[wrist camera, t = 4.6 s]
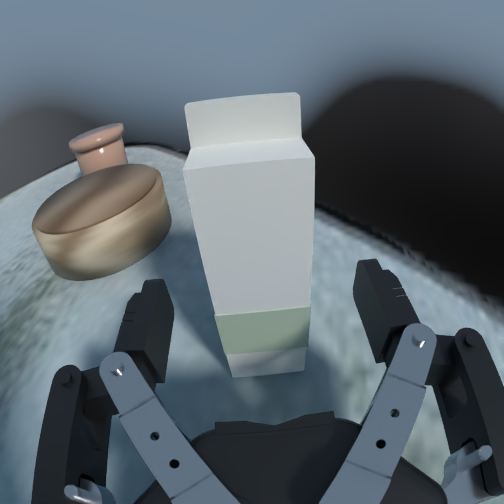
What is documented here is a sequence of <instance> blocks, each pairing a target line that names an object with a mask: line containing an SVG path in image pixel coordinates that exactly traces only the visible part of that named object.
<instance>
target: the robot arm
mask: <svg viewBox="0 0 504 504" xmlns="http://www.w3.org/2000/svg"><path fill="white" fill-rule="evenodd" d="M353 296H354V301H355V304H356V307H357V309H358V312H359V315H360V318H361V320H362V323H363V326H364V329H365V332H366V335H367V338H368V340H369V343H370V346H371V349H372V352H373V355H374V358H375V361H376V364H377V363H381V362H385V364H386V367H387V368H386V370H385V373H384V375H383V377H382V379H381V382H380V384H379V386H378V388H377V391H376V393H375V395H374V397H373V399H372V401H371V403H370V405H369V407H368V409H367V411H366V413H365V415H364V417H363V419H362V421H361V423H360V424H357V423H355V422H353V421H350V420H347V419H342V418H335V417H334V412H333V411H329V412H323V413H316V414H310V415H304V416H301V417H299V418H296V419H293V420H290V421H287V422H285V423H282V424H279V425H266V424H260V423H253V422H247V421H234V422H215V429H213V430H210V431H207V432H205V433H203V434H201V435H199V436H198V437H196V438H195V439H193V440H192V441H191V440H190V439H189V438H188V436H187V435H186V434H185V432H184V431H183V430H182V429H181V427H180V426H179V425H178V424H177V422H176V421H175V420H174V418H173V417H172V415H171V414H170V413H169V411H168V410H167V408H166V407H165V406H164V404H163V403H162V401H161V400H160V398H159V397H158V395H157V394H156V392H155V386H156V383H165V376H166V369H167V361H168V354H169V347H170V341H171V334H172V328H173V322H174V307H173V303H172V300H171V298H170V295H169V292H168V290H167V287H166V284H165V281H164V280H163V279H153V280H145V281H144V284H143V287H142V291H141V293H135V294H134V295H133V296H132V298H131V299H130V300H129V301H128V303H127V306H126V310H125V314H124V316H123V320H122V321H123V322H122V323H121V326H120V330H119V333H118V337H117V341H116V344H115V348H114V351H113V353H111V354H109V355H108V356H106V357H105V358H104V360H103V361H102V362H101V365H100V366H99V367H96V368H92V369H88V370H85V371H80V370H79V368H77V367H76V366H74V365H66V366H63V367H62V368H60V369H59V370H58V371H57V372H56V374H55V375H54V378H53V381H52V385H51V389H50V393H49V397H48V401H47V405H46V410H45V414H44V419H43V424H42V429H41V434H40V439H39V445H38V451H37V457H36V464H35V472H34V480H33V490H32V501H31V504H116V501H115V498H114V496H113V494H112V493H111V492H110V490H108V489H107V488H106V473H107V459H108V447H109V436H110V427H111V419H112V415H116V414H120V416H119V419H120V421H121V423H122V425H123V427H124V429H125V430H126V432H127V434H128V436H129V437H130V439H131V441H132V442H133V444H134V446H135V447H136V449H137V450H138V452H139V454H140V455H141V457H142V458H143V460H144V461H145V463H146V464H147V466H148V468H149V469H150V470H151V472H152V473H153V475H154V476H155V478H156V480H155V481H154V482H153V483H152V484H151V486H150V487H149V488H148V489H147V490H146V491H145V492H144V493H143V494H142V495H141V496H140V497H139V498H138V499H137V500H136V501H135V502H134V503H133V504H477V503H480V502H483V501H486V500H489V499H492V498H495V497H497V496H500V495H502V494H504V386H503V384H502V381H501V378H500V376H499V374H498V371H497V369H496V366H495V364H494V362H493V359H492V357H491V355H490V353H489V350H488V348H487V346H486V344H485V342H484V340H483V338H482V336H481V335H480V334H479V333H478V332H477V331H476V330H474V329H471V328H462V329H460V330H459V331H458V332H457V333H456V335H455V336H445V335H437V334H435V333H434V332H433V330H432V329H431V328H429V327H428V326H426V325H424V324H421V323H420V321H419V319H418V317H417V315H416V313H415V311H414V309H413V307H412V305H411V303H410V301H409V299H408V297H407V296H406V293H405V291H404V289H403V288H402V285H401V283H400V281H399V280H398V278H397V277H396V276H395V275H394V274H393V273H392V272H391V271H390V270H382V268H381V266H380V264H379V262H378V260H377V259H368V260H359V261H358V263H357V268H356V274H355V280H354V285H353ZM424 385H432V387H433V390H434V393H435V397H436V400H437V403H438V407H439V410H440V414H441V418H442V421H443V425H444V429H445V433H446V437H447V441H448V445H449V450H450V454H451V455H450V456H449V457H448V459H447V460H446V462H445V465H444V478H443V482H442V484H441V485H439V484H438V483H437V482H436V481H434V480H433V479H431V478H430V477H429V476H427V475H426V474H424V473H423V472H422V471H420V470H419V469H418V468H416V467H415V466H414V465H412V464H411V463H409V462H408V461H407V460H405V459H404V458H403V457H401V455H402V452H403V450H404V448H405V446H406V443H407V441H408V438H409V436H410V434H411V431H412V429H413V426H414V423H415V421H416V418H417V415H418V413H419V410H420V407H421V404H422V401H423V399H424V396H425V392H426V387H424Z"/></svg>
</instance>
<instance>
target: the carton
mask: <svg viewBox="0 0 504 504" xmlns="http://www.w3.org/2000/svg"><path fill="white" fill-rule="evenodd" d="M184 109H185V115H186V121H187V127H188V133H189V139H190V145H191V150H190V153H189V155H188V158H187V160H186V163H185V165H184V168H183V170H182V171H183V176H184V180H185V185H186V190H187V195H188V200H189V205H190V209H191V214H192V218H193V223H194V228H195V232H196V236H197V241H198V245H199V250H200V254H201V258H202V262H203V267H204V271H205V275H206V279H207V283H208V287H209V291H210V295H211V299H212V303H213V307H214V311H215V313H214V317H215V320H216V324H217V328H218V331H219V335H220V339H221V342H222V346H223V350H224V353H225V355H226V356H227V359H228V363H229V367H230V370H231V374H232V377H233V378H236V377H250V376H261V375H272V374H281V373H290V372H298V371H304V368H305V358H306V347H308V338H309V326H310V314H311V304H310V294H311V277H312V257H313V231H314V190H315V157H314V156H313V154H312V153H311V151H310V150H309V148H308V147H307V145H306V144H305V142H304V141H303V139H302V138H301V111H300V95H298V94H297V93H296V92H293V93H274V94H259V95H247V96H237V97H228V98H219V99H212V100H204V101H197V102H191V103H187V104H186V105H185V107H184Z"/></svg>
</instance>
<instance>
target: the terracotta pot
mask: <svg viewBox="0 0 504 504" xmlns="http://www.w3.org/2000/svg"><path fill="white" fill-rule="evenodd" d="M123 134H124V128H123V124H122V123H115V124H110V125H106V126H102V127H99V128H96V129H93V130H91V131H88V132H86V133H83V134H81V135H79V136H77V137H76V138H74V139H73V140H71V141H70V142H69V146H70V150H71V152H72V153H75V154H76V158H77V161H78V164H79V167H80V171H81V174H82V176H85V175H87V174H90V173H92V172H95V171H98V170H101V169H104V168H108V167H112V166H117V165H123V164H128V160H127V156H126V152H125V148H124V144H123V140H122V135H123Z"/></svg>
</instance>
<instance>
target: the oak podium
mask: <svg viewBox="0 0 504 504" xmlns="http://www.w3.org/2000/svg"><path fill="white" fill-rule="evenodd" d="M171 222H172V220H171V214H170V210H169V206H168V202H167V198H166V194H165V190H164V185H163V181H162V177H161V174H160V172H159V171H158V170H157V169H155V168H153V167H150V166H147V165H143V164H123V165H117V166H112V167H108V168H104V169H101V170H98V171H95V172H92V173H90V174H87V175H85V176H82V177H80V178H78V179H76V180H74V181H72V182H70V183H69V184H67V185H65V186H64V187H62V188H61V189H59V190H58V191H56V192H55V193H54V194H52V195H51V196H50V197H49V198H48V199H47V200H46V201H45V202H44V203H43V204H42V205H41V206H40V208H39V209H38V211H37V213H36V215H35V217H34V219H33V222H32V230H33V232H34V235H35V237H36V239H37V241H38V243H39V245H40V247H41V249H42V251H43V253H44V255H45V257H46V259H47V261H48V262H49V264H50V266H51V268H52V270H53V271H54V272H55V273H56V274H57V275H58V276H60V277H62V278H64V279H68V280H75V281H84V280H92V279H97V278H101V277H105V276H108V275H111V274H114V273H116V272H118V271H121V270H123V269H125V268H127V267H129V266H131V265H133V264H134V263H136V262H138V261H139V260H141V259H142V258H144V257H145V256H147V255H148V254H149V253H150V252H152V251H153V250H154V249H155V248H156V247H157V246H158V245H159V244H160V243H161V242H162V240H163V239H164V238H165V237H166V235H167V233H168V232H169V229H170V227H171Z"/></svg>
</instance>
